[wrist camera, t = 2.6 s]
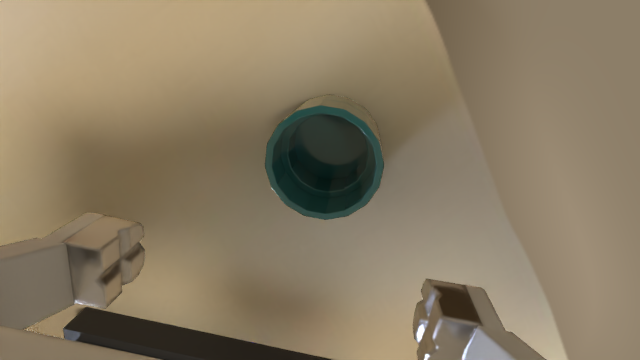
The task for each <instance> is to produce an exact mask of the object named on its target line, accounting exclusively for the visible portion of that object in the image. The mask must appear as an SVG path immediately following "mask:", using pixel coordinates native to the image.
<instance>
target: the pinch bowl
mask: <svg viewBox="0 0 640 360" xmlns="http://www.w3.org/2000/svg"><path fill="white" fill-rule="evenodd" d="M265 169H266V172H267V175H268V178H269V181H270V185H271V187H272V189H273V190H274V191H275V192H276V194H277V195H278V196H279V197H280V199H281V200H282V201H283V202H284V204H286V205H287V206H289V207H290V208H292V209H294V210H295V211H297V212H299V213H300V214H302V215H304V216H308V217H313V218H319V219H324V220H328V219H334V218H340V217H345V216H349V215H350V214H352V213H354V212H355V211H357V210H359V209H360V208H362V207H364V206H365V205H366V204H367V203H368V202H369V200H370V199H371V198H372V196H373V195H374V194H375V192H376V191H377V190H378V188H379V186H380V182H381V178H382V173H383V169H384V160H383V154H382V148H381V142H380V137H379V132H378V127H377V124H376V123H375V121H374V120H373V118H372V117H371V115H370V114H369V112H368V111H367V109H365V108H364V107H363V106H361V105H359V104H358V103H356V102H355V101H353V100H352V99H350V98H347V97H342V96H336V95H330V94H329V95H324V96H320V97H316V98H312V99H309V100H307V101H306V102H305V103H303V104H302V105H301V106H299V107H298V108H297V109H295V110H294V111H293V112H292V113H291V114H290V115H288V116H287V117H286V118H285V119H284V120H283V121H282V122H280V123H279V124H278V125H277V127H276V129H275V131H274V133H273V134H272V136H271V138H270V140H269V141H268V143H267V149H266V159H265Z"/></svg>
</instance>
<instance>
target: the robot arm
mask: <svg viewBox="0 0 640 360" xmlns="http://www.w3.org/2000/svg"><path fill="white" fill-rule="evenodd" d="M143 237H144V228H143V225H142V224H141V223H139V222H135V221H130V220H125V219H121V218H116V217H111V216H106V215H102V214H97V213H85V214H83V215H81V216H80V217H78V218H76V219H74V220H73V221H71V222H69V223H68V224H66V225H64V226H63V227H61V228H59V229H57V230H56V231H54V232H52V233H51V234H49V235H47V236H46V237H44V238H42V239H40V238H33V239H29V240H24V241H20V242H15V243H11V244H7V245H2V246H0V360H161V359H156V358H151V357H147V356H142V355H137V354H133V353H128V352H123V351H119V350H114V349H109V348H105V347H100V346H95V345H91V344H86V343H81V342H77V341H72V340H67V339H63V338H58V337H53V336H49V335H44V334H39V333H34V332H30V331H25V330H23V329H25V328H27V327H29V326H31V325H33V324H35V323H37V322H39V321H41V320H43V319H45V318H48V317H50V316H52V315H54V314H56V313H58V312H60V311H62V310H64V309H66V308H68V307H70V306H72V305H74V303H78V304H83V305H89V306H95V307H100V308H107V307H108V306H109V305H110V304H111V303H112V302H113V301H114V300H115V299H116V298H117V297H118V296H119V295H120V294H121V293H122V285H125V284H127V283H130V282H132V281H133V280H134V279H135V278H136V277H137V276H138V275H139V273H140V271H141V269H142V267H143V265H144V260H145V249H144V248H143V247H142V245H141V244H140V241H141V240H142V239H143ZM421 293H422V297H423V300H421V301H420V302H418V303H417V305H416V308H415V312H414V318H413V333H414V339H415V340H416V341H417V342H418V343H419V347H418V350H417V356H418V360H546V359H545V358H543V357H542V356H541V355H540V354H538V353H537V352H536V351H535V350H533V349H532V348H531V347H530V346H528V345H527V344H526V343H525V342H523V341H522V340H521V339H520V338H518V337H517V336H516V335H515V334H513V333H512V332H508V331H506V330H505V328H504V327H503V325H502V323H501V321H500V319H499V317H498V315H497V313H496V311H495V309H494V307H493V305H492V303H491V301H490V299H489V297H488V295H487V293H486V291H485V290H484V289H483V288H481V287H475V286H469V285H461V284H455V283H449V282H443V281H438V280H432V279H426V280H425V281H424V283H423V286H422V289H421Z"/></svg>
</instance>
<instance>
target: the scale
mask: <svg viewBox="0 0 640 360" xmlns="http://www.w3.org/2000/svg"><path fill="white" fill-rule="evenodd" d="M63 331H64V337H65V339H67V340H72V341H77V342H81V343H86V344H91V345H95V346H100V347H105V348H109V349H114V350H119V351H123V352H128V353H133V354H137V355H142V356H147V357H151V358H156V359H161V360H330V359H325V358H321V357H316V356H311V355H307V354H302V353H297V352H293V351H288V350H283V349H279V348H274V347H269V346H265V345H260V344H255V343H250V342H246V341H241V340H236V339H232V338H227V337H222V336H218V335H213V334H208V333H204V332H199V331H194V330H190V329H185V328H180V327H176V326H171V325H166V324H161V323H157V322H152V321H147V320H143V319H138V318H133V317H129V316H124V315H119V314H115V313H110V312H105V311H101V310H96V309H91V308H87V307H86V308H85V309H84V310H82V311H81V312H80V313H79V314H78V315H77V316H76V317H75V318H74V319H73V320H72V321H71V322H70V323H68V324H67V325H66V326H65V327H64V328H63Z"/></svg>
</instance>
